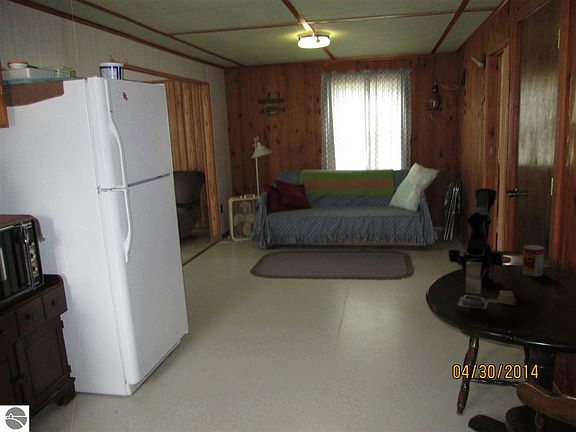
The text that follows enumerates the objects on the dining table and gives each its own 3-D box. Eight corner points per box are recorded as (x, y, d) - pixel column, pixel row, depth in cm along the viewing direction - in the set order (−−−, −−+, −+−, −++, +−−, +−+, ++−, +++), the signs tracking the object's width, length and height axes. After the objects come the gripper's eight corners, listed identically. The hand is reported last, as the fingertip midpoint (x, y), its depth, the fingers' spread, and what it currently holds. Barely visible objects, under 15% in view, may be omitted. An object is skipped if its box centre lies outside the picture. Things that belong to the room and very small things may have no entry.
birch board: (466, 289, 176) (467, 261, 174) (480, 291, 173) (481, 262, 171) (465, 292, 173) (466, 263, 171) (480, 293, 171) (480, 264, 169)
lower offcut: (499, 297, 178) (499, 293, 178) (514, 298, 175) (514, 295, 175) (498, 302, 173) (498, 298, 172) (513, 304, 170) (513, 300, 170)
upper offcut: (499, 294, 177) (499, 290, 177) (512, 294, 176) (512, 291, 175) (500, 299, 172) (501, 295, 172) (514, 299, 171) (514, 295, 170)
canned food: (529, 269, 211) (530, 244, 208) (546, 273, 204) (547, 247, 202) (518, 273, 207) (519, 247, 204) (536, 277, 200) (537, 250, 198)
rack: (462, 294, 185) (462, 288, 184) (516, 300, 176) (516, 294, 175) (456, 307, 172) (457, 301, 172) (514, 314, 163) (514, 307, 163)
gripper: (449, 228, 177) (444, 264, 169) (503, 231, 168) (500, 269, 161) (452, 243, 185) (447, 278, 178) (504, 247, 176) (501, 283, 169)
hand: (473, 277), depth 171 cm, fingers closed on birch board, 5 cm apart
